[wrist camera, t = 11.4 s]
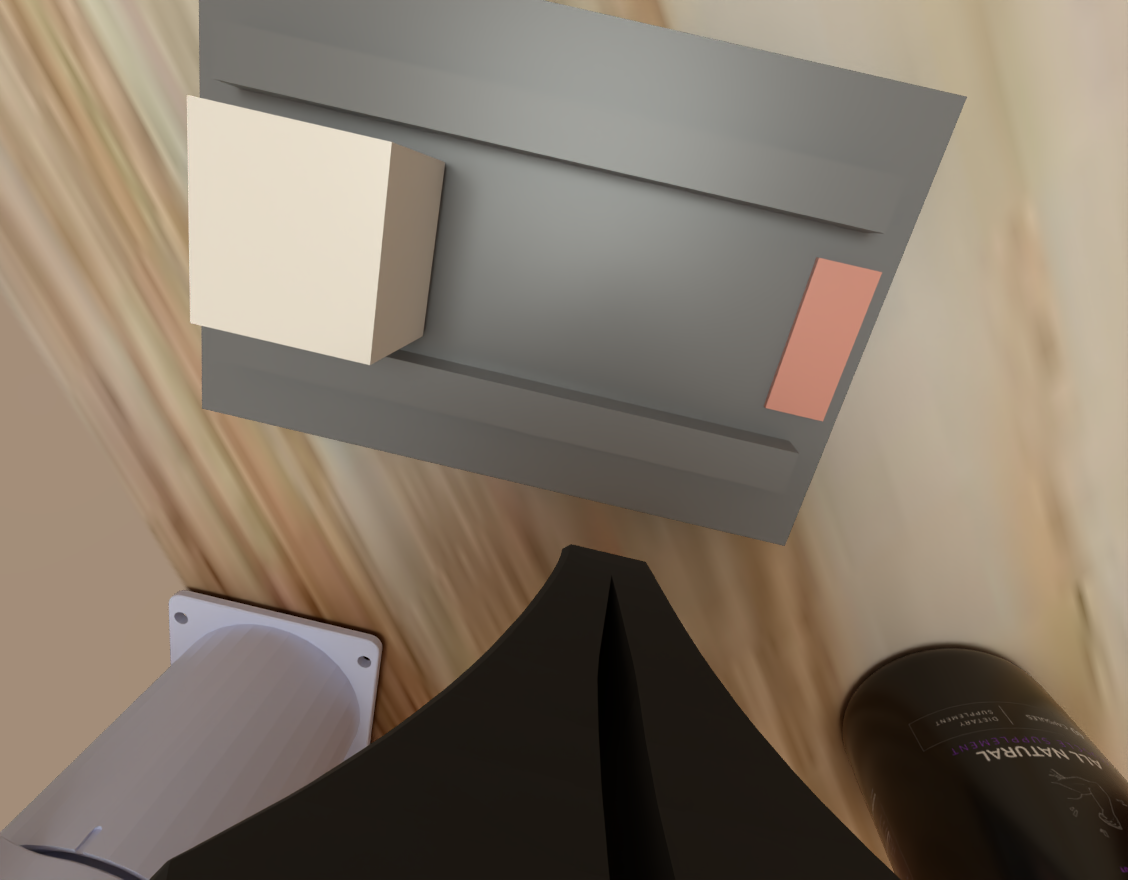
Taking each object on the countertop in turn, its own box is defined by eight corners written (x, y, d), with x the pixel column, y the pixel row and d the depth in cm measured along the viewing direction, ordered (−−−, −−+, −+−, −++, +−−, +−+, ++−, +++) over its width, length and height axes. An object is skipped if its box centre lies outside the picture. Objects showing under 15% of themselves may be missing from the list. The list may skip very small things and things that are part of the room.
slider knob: (422, 336, 16) (369, 365, 13) (280, 302, 16) (190, 322, 13) (445, 162, 14) (391, 142, 11) (288, 125, 14) (187, 94, 11)
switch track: (772, 522, 19) (794, 564, 16) (233, 395, 19) (178, 418, 17) (933, 109, 15) (993, 87, 12) (238, -49, 15) (166, -102, 12)
